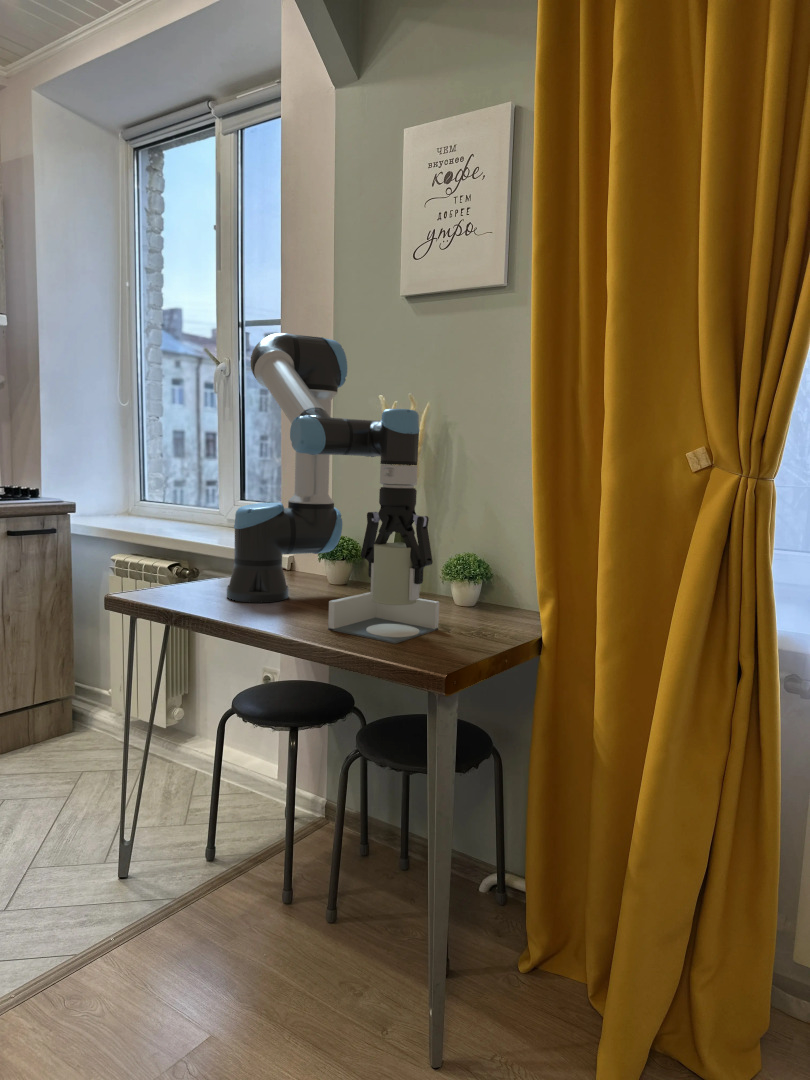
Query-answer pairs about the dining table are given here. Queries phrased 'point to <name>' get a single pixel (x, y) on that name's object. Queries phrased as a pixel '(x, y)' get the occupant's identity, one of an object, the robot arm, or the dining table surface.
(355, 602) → the walls
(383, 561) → the can
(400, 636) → the mat
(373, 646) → the dining table surface
